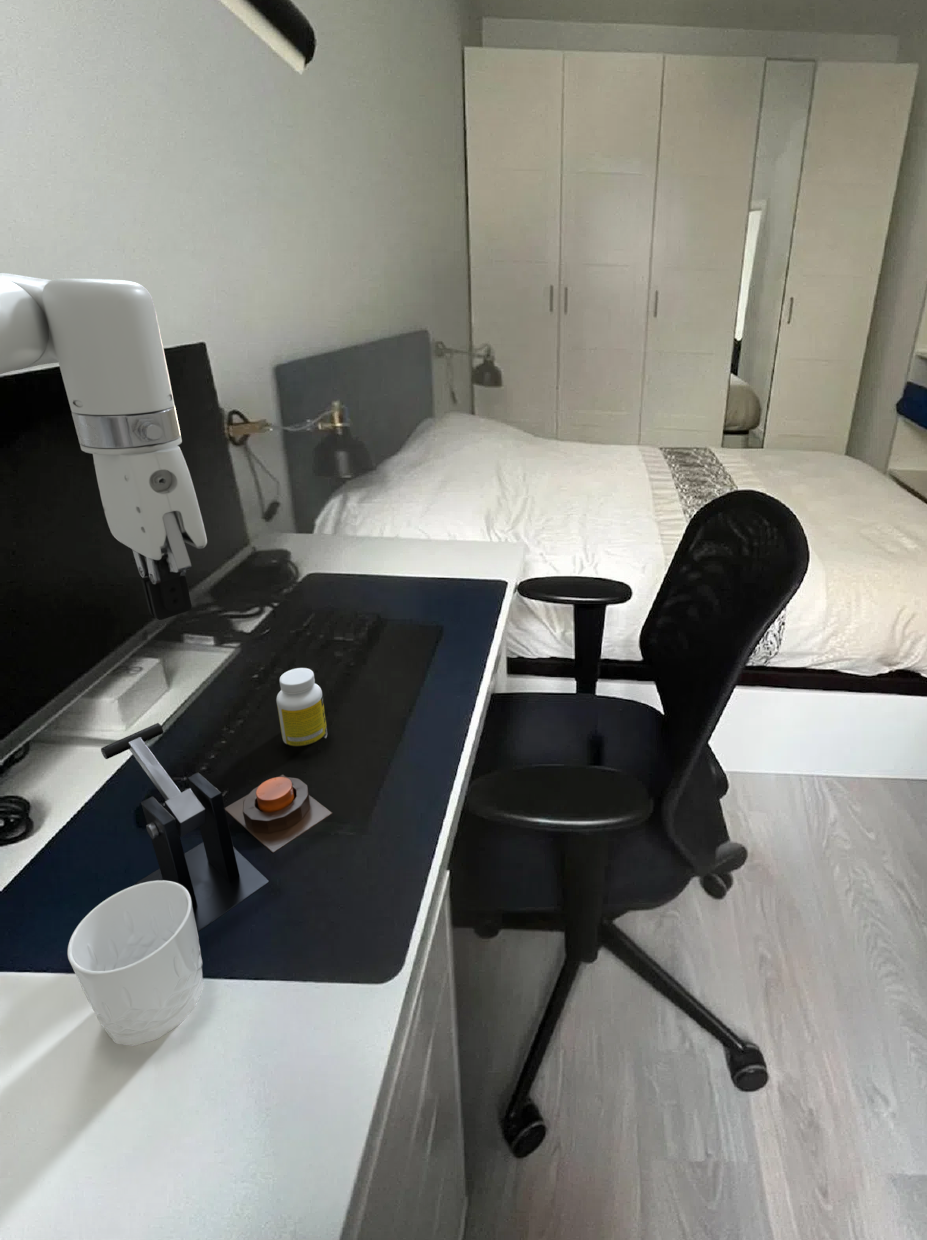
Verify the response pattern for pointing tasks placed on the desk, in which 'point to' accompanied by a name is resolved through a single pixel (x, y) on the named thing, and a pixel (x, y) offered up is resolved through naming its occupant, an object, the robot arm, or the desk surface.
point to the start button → (275, 794)
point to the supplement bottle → (301, 708)
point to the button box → (279, 816)
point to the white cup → (140, 961)
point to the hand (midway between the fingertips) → (171, 612)
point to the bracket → (202, 857)
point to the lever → (161, 779)
